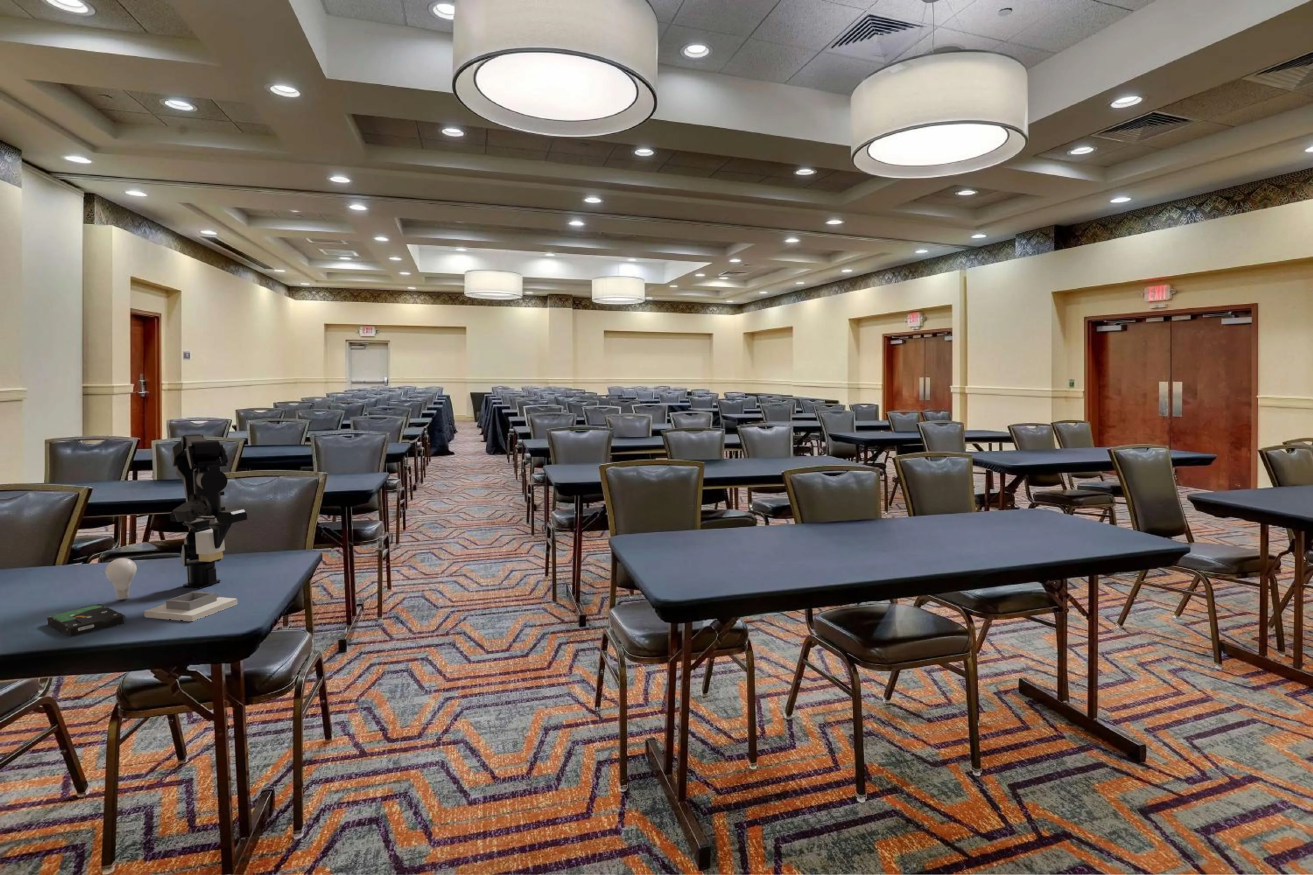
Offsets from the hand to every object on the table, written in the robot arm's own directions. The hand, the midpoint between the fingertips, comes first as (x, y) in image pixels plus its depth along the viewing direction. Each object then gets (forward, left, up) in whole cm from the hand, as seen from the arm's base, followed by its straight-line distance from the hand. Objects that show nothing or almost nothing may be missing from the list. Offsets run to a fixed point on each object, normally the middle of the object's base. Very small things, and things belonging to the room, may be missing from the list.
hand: (210, 547), depth 179 cm
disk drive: (-12, -23, -14) cm, 30 cm away
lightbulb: (-21, -7, -13) cm, 26 cm away
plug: (0, 0, -3) cm, 3 cm away
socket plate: (+4, -10, -13) cm, 17 cm away
